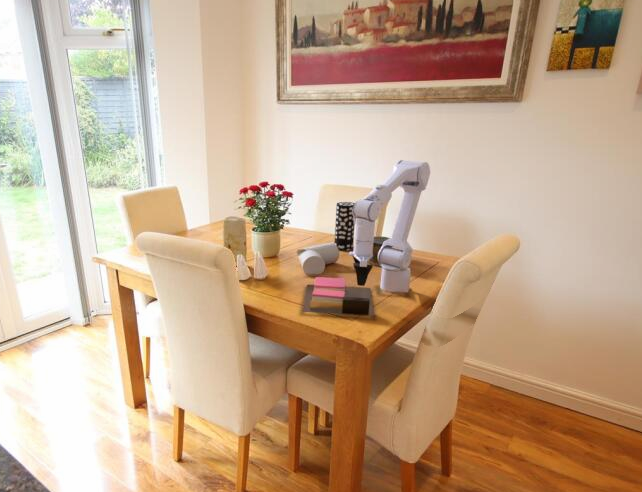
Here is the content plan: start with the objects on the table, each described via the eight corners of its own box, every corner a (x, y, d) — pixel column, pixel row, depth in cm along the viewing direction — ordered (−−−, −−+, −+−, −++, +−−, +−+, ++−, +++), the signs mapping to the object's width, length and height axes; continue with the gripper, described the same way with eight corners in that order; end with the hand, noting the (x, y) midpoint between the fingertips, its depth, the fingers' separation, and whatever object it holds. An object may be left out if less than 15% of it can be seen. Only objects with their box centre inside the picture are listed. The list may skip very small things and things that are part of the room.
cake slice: (344, 302, 150) (345, 291, 149) (343, 308, 146) (343, 296, 145) (313, 299, 153) (314, 288, 151) (311, 305, 149) (312, 294, 147)
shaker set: (268, 277, 176) (268, 249, 172) (268, 281, 173) (268, 253, 168) (237, 276, 178) (236, 249, 173) (236, 280, 174) (235, 252, 169)
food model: (248, 262, 193) (247, 215, 185) (245, 268, 187) (244, 219, 179) (225, 261, 195) (224, 215, 187) (221, 266, 189) (219, 219, 181)
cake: (344, 289, 161) (344, 278, 159) (344, 298, 154) (344, 287, 152) (315, 287, 163) (315, 276, 161) (313, 296, 156) (314, 285, 154)
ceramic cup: (396, 265, 186) (398, 241, 182) (375, 268, 182) (377, 244, 178) (376, 255, 197) (378, 233, 193) (356, 259, 193) (358, 236, 189)
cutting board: (369, 290, 162) (370, 287, 161) (374, 319, 141) (374, 316, 141) (307, 287, 166) (307, 284, 166) (302, 314, 145) (302, 311, 145)
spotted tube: (330, 246, 211) (333, 202, 203) (347, 244, 213) (349, 201, 205) (339, 251, 203) (342, 206, 196) (356, 249, 206) (359, 205, 198)
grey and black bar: (368, 311, 144) (369, 298, 142) (368, 314, 142) (369, 301, 140) (310, 307, 147) (310, 294, 146) (309, 310, 145) (310, 297, 143)
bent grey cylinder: (290, 257, 194) (296, 274, 175) (297, 233, 189) (303, 248, 171) (331, 265, 195) (341, 282, 177) (338, 241, 191) (349, 256, 173)
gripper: (349, 232, 148) (347, 272, 153) (351, 246, 135) (348, 288, 140) (372, 233, 147) (369, 273, 152) (376, 246, 133) (371, 289, 139)
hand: (360, 280), depth 146 cm, fingers open, 7 cm apart
